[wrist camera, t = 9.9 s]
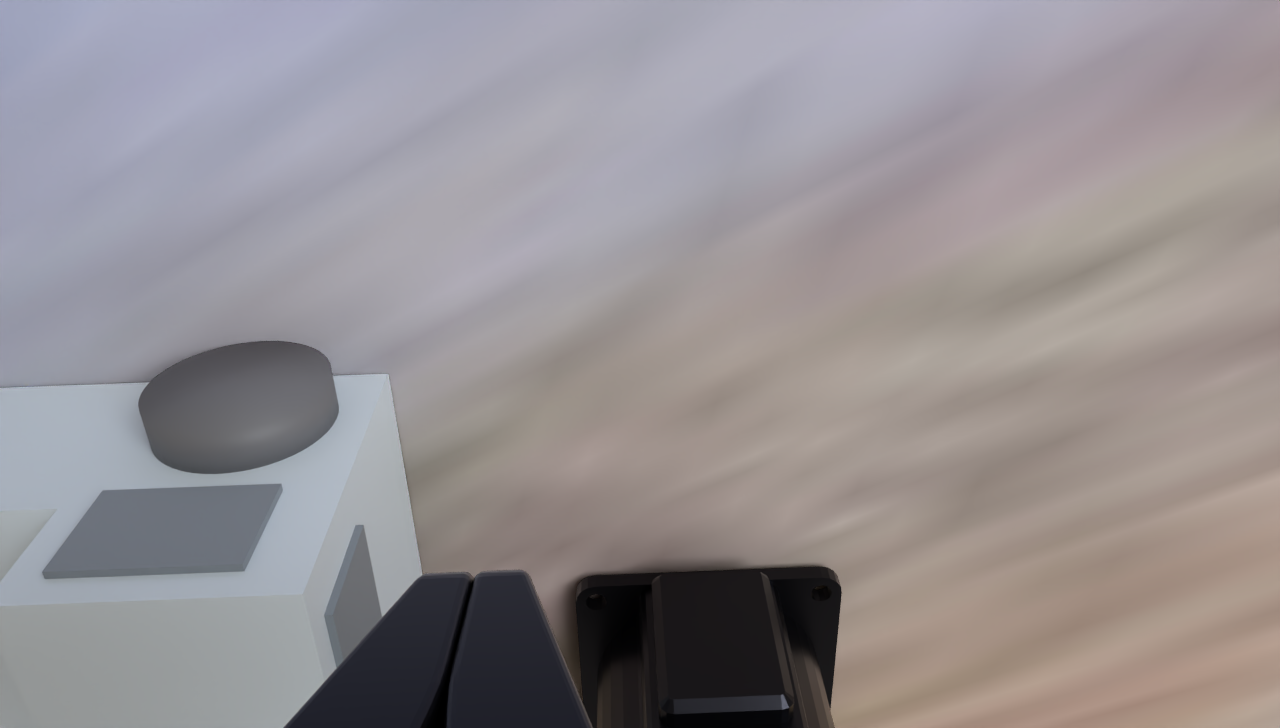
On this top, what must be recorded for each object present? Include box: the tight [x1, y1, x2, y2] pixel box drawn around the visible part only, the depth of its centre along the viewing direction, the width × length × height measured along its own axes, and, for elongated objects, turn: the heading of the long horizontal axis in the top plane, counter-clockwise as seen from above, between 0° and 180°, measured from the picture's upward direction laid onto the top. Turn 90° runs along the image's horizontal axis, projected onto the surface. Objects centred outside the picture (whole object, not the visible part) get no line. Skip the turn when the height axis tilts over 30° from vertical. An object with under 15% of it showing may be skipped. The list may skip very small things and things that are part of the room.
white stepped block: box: [0, 341, 422, 728], centre depth 21 cm, size 15×11×7 cm
